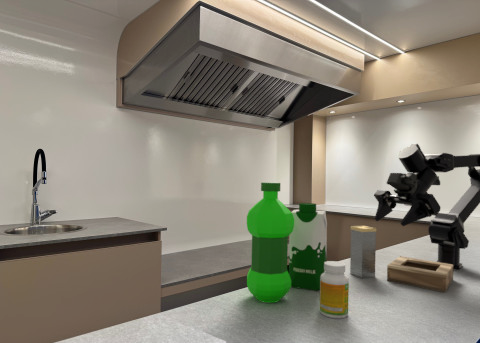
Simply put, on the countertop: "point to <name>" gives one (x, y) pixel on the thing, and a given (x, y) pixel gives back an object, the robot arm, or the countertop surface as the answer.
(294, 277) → the milk carton
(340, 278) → the supplement bottle
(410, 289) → the countertop surface
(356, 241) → the tea canister
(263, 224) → the plastic bottle
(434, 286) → the caddy
